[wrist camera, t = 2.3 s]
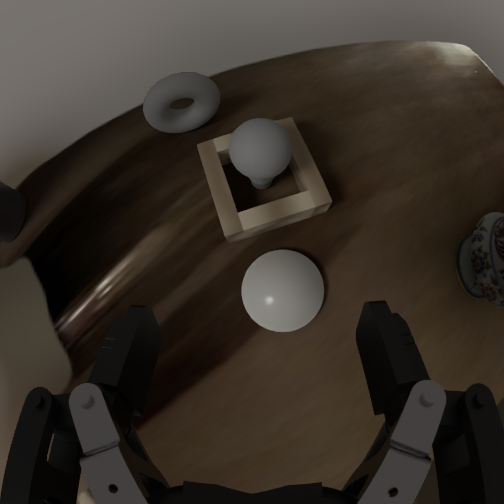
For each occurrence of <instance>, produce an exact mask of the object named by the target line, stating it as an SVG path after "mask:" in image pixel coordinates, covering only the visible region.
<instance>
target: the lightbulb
mask: <svg viewBox="0 0 504 504" xmlns="http://www.w3.org/2000/svg"><path fill="white" fill-rule="evenodd" d="M292 151H293V148H292V141H291V138H290V136H289V134H288V133H287V131H286V130H285V128H284V127H283V126H281V125H280V124H279V123H277V122H275V121H273V120H270V119H266V118H255V119H251V120H248V121H246V122H244V123H243V124H241V125H240V126H239V127H237V129H236V130H235V131H234V133H233V134H232V136H231V139H230V142H229V155H230V159H231V161H232V163H233V165H234V166H235V167H236V169H237V170H238V171H239V172H241V173H242V174H243V175H245V176H247V177H249V178H250V180H251V182H252V185H253V186H254V187H255V188H257V189H267V188H268V187H269V186H270V185H271V184H272V181H273V178H274V177H275V176H277V175H278V174H280V173H281V172H282V171H283V170H284V169H285V168H286V167H287V165H288V164H289V162H290V160H291V157H292Z"/></svg>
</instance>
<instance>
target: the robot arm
mask: <svg viewBox="0 0 504 504" xmlns="http://www.w3.org/2000/svg"><path fill="white" fill-rule="evenodd" d="M25 215H26V199H25V197H24V195H23V194H22V193H20V192H18V191H17V190H15V189H13V188H11V187H10V186H8V185H6V184H4V183H3V182H1V181H0V241H3V242H10V241H12V240H13V239H14V238H15V237H16V236H17V235H18V233H19V231H20V229H21V227H22V225H23V222H24V219H25ZM356 342H357V346H358V350H359V354H360V357H361V361H362V365H363V369H364V373H365V377H366V381H367V385H368V389H369V393H370V397H371V402H372V406H373V410H374V415H380V414H384V415H385V422H384V423H383V425H382V427H381V429H380V431H379V433H378V435H377V437H376V439H375V441H374V442H373V444H372V446H371V448H370V450H369V451H368V453H367V455H366V456H365V458H364V460H363V461H362V463H361V464H360V466H359V467H358V468H357V469H356V470H355V472H354V473H353V474H352V476H351V477H350V478H349V480H348V481H347V483H346V484H345V486H344V487H343V489H342V490H341V491H340V490H337V489H334V488H329V487H323V486H322V482H320V483H311V484H300V485H287V486H284V487H280V488H276V489H272V490H268V491H264V492H259V493H254V494H250V493H245V492H241V491H237V490H234V489H230V488H226V487H223V486H220V485H216V484H205V483H196V482H188V481H184V483H183V485H181V486H176V487H170V485H169V484H168V482H167V481H166V479H165V478H164V476H163V475H162V473H161V472H160V471H159V470H158V468H157V467H156V466H155V465H154V464H153V462H152V461H151V459H150V457H149V456H148V454H147V452H146V450H145V448H144V446H143V444H142V443H141V441H140V439H139V437H138V435H137V433H136V431H135V429H134V426H133V424H132V423H131V420H132V416H133V415H137V416H143V413H144V409H145V405H146V401H147V397H148V393H149V389H150V385H151V381H152V377H153V374H154V370H155V366H156V363H157V359H158V356H159V352H160V349H161V344H162V335H161V331H160V328H159V326H158V323H157V321H156V318H155V316H154V313H153V311H152V308H151V307H150V306H142V305H131V306H130V307H129V308H128V310H127V312H126V315H125V317H124V318H119V319H118V320H117V321H116V322H115V323H114V324H113V325H112V326H111V327H110V329H109V332H108V334H107V336H106V340H105V341H104V343H103V345H102V349H101V350H100V352H99V355H98V357H97V359H96V362H95V364H94V367H93V369H92V372H91V374H90V377H89V379H88V381H87V383H84V384H81V385H79V386H77V387H76V388H75V389H74V390H73V391H72V393H70V394H58V395H52V394H51V393H50V392H49V391H48V390H47V389H46V388H44V387H37V388H34V389H33V390H31V391H30V393H29V394H28V396H27V397H26V400H25V403H24V405H23V408H22V411H21V414H20V417H19V420H18V423H17V427H16V430H15V433H14V437H13V440H12V444H11V447H10V451H9V455H8V460H7V464H6V469H5V474H4V479H3V484H2V491H1V497H0V504H76V501H77V494H78V486H79V480H80V474H81V468H82V471H83V473H84V476H85V478H86V481H87V483H88V485H89V488H90V490H91V492H92V495H93V497H94V499H95V501H96V503H97V504H412V503H413V501H414V500H415V498H416V496H417V494H418V492H419V490H420V488H421V486H422V483H423V482H424V479H425V477H426V475H427V473H428V470H429V468H430V465H431V458H429V456H428V455H429V451H430V448H431V446H432V448H433V453H434V459H435V465H436V472H437V480H438V488H439V499H440V504H504V430H503V426H502V422H501V419H500V416H499V412H498V409H497V406H496V403H495V400H494V397H493V394H492V392H491V391H490V389H489V388H488V387H487V386H485V385H483V384H480V383H477V384H473V385H472V386H470V387H469V388H468V389H467V390H466V391H465V392H462V391H447V390H444V389H443V388H442V387H441V386H440V385H439V384H438V383H436V382H434V381H431V379H430V378H429V376H428V373H427V370H426V368H425V365H424V363H423V360H422V358H421V355H420V353H419V350H418V348H417V345H416V344H415V341H414V338H413V336H412V335H411V332H410V329H409V327H408V325H407V323H406V321H405V320H404V319H403V318H402V317H401V316H400V315H399V314H398V313H391V311H390V309H389V307H388V304H387V302H386V301H384V300H383V301H371V302H365V304H364V306H363V309H362V313H361V316H360V319H359V322H358V326H357V329H356ZM52 434H54V439H53V442H52V446H51V451H50V455H49V460H48V462H47V454H48V450H49V446H50V442H51V438H52ZM389 494H390V495H389ZM388 495H389V496H388Z"/></svg>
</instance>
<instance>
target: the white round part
mask: <svg viewBox="0 0 504 504" xmlns="http://www.w3.org/2000/svg"><path fill="white" fill-rule="evenodd" d="M323 298H324V284H323V280H322V276H321V274H320V272H319V270H318V268H317V267H316V266H315V264H314V263H313V262H312V261H311V260H310V259H308V258H307V257H306V256H304V255H302V254H300V253H298V252H295V251H291V250H275V251H271V252H268V253H266V254H264V255H262V256H260V257H259V258H258V259H256V260H255V261H254V262H253V263H252V264H251V266H250V267H249V268H248V270H247V272H246V274H245V276H244V279H243V283H242V299H243V303H244V306H245V308H246V310H247V312H248V314H249V315H250V316H251V318H252V319H253V320H254V321H255V322H256V323H258V324H259V325H260V326H262V327H264V328H266V329H269V330H272V331H276V332H289V331H294V330H297V329H299V328H302V327H303V326H305V325H307V324H308V323H309V322H310V321H311V320H312V319H313V318H314V317H315V316H316V314H317V313H318V311H319V310H320V307H321V305H322V302H323Z"/></svg>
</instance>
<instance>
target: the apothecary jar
mask: <svg viewBox="0 0 504 504" xmlns="http://www.w3.org/2000/svg"><path fill="white" fill-rule="evenodd" d="M455 269H456V274H457V278H458V281H459V283H460V285H461V287H462V289H463V290H464V292H465V293H466V294H467V295H468V296H469V297H470V298H472V299H475V300H483V299H485V298H487V299H488V300H489V301H490V302H492V303H493V304H496V305H500V306H504V214H503V213H500V212H492V213H489V214H487V215H485V216H484V217H483V218H481V220H480V221H479V222H478V224H477V225H476V227H475V230H474V232H469V233H467V234H465V235H464V236H463V237H462V238H461V239H460V241H459V243H458V246H457V249H456V253H455Z"/></svg>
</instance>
